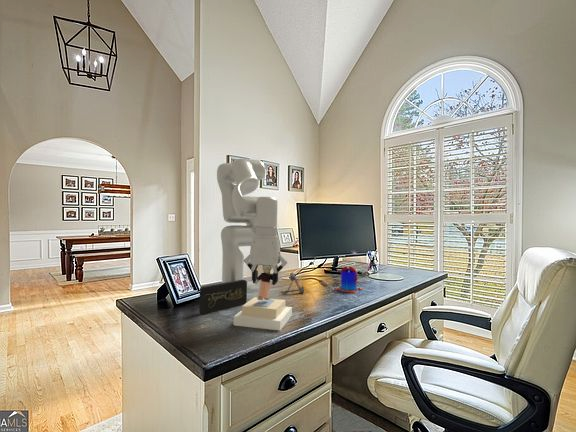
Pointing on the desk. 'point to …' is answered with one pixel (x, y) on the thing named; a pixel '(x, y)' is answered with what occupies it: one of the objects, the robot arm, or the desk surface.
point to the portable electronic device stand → (292, 277)
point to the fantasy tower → (348, 280)
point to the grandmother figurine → (264, 283)
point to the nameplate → (222, 296)
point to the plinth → (263, 320)
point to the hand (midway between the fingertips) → (264, 282)
